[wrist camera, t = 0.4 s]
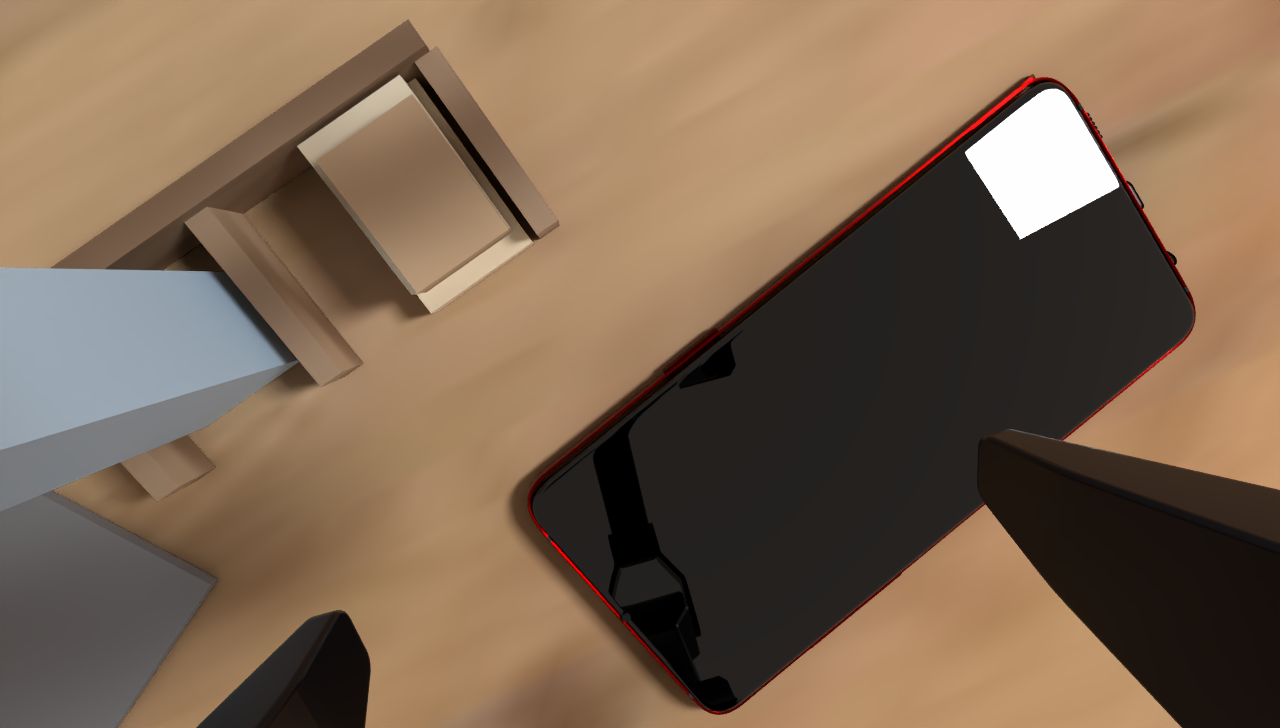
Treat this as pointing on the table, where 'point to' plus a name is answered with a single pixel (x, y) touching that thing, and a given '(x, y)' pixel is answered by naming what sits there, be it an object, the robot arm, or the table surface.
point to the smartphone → (867, 398)
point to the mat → (84, 614)
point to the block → (118, 367)
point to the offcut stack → (416, 193)
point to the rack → (252, 172)
